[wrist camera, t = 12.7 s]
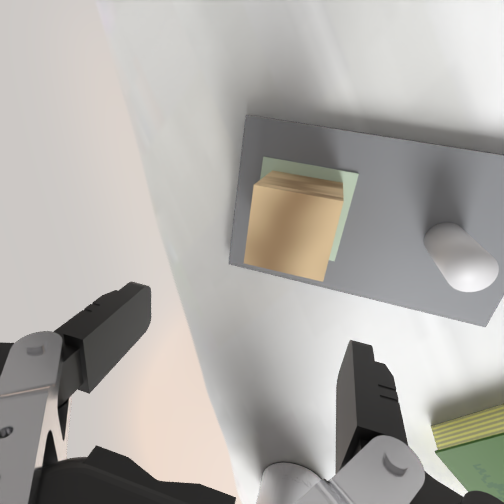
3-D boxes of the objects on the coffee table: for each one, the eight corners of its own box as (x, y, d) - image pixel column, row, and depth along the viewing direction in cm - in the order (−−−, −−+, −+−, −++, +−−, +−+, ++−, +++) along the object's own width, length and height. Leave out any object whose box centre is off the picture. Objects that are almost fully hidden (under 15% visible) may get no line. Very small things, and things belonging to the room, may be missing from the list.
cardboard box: (342, 182, 26) (343, 201, 20) (326, 248, 28) (323, 281, 23) (272, 170, 27) (253, 184, 21) (262, 234, 29) (243, 263, 24)
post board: (478, 317, 29) (520, 377, 22) (233, 258, 33) (206, 293, 27) (562, 164, 23) (652, 182, 16) (250, 115, 27) (221, 114, 21)
